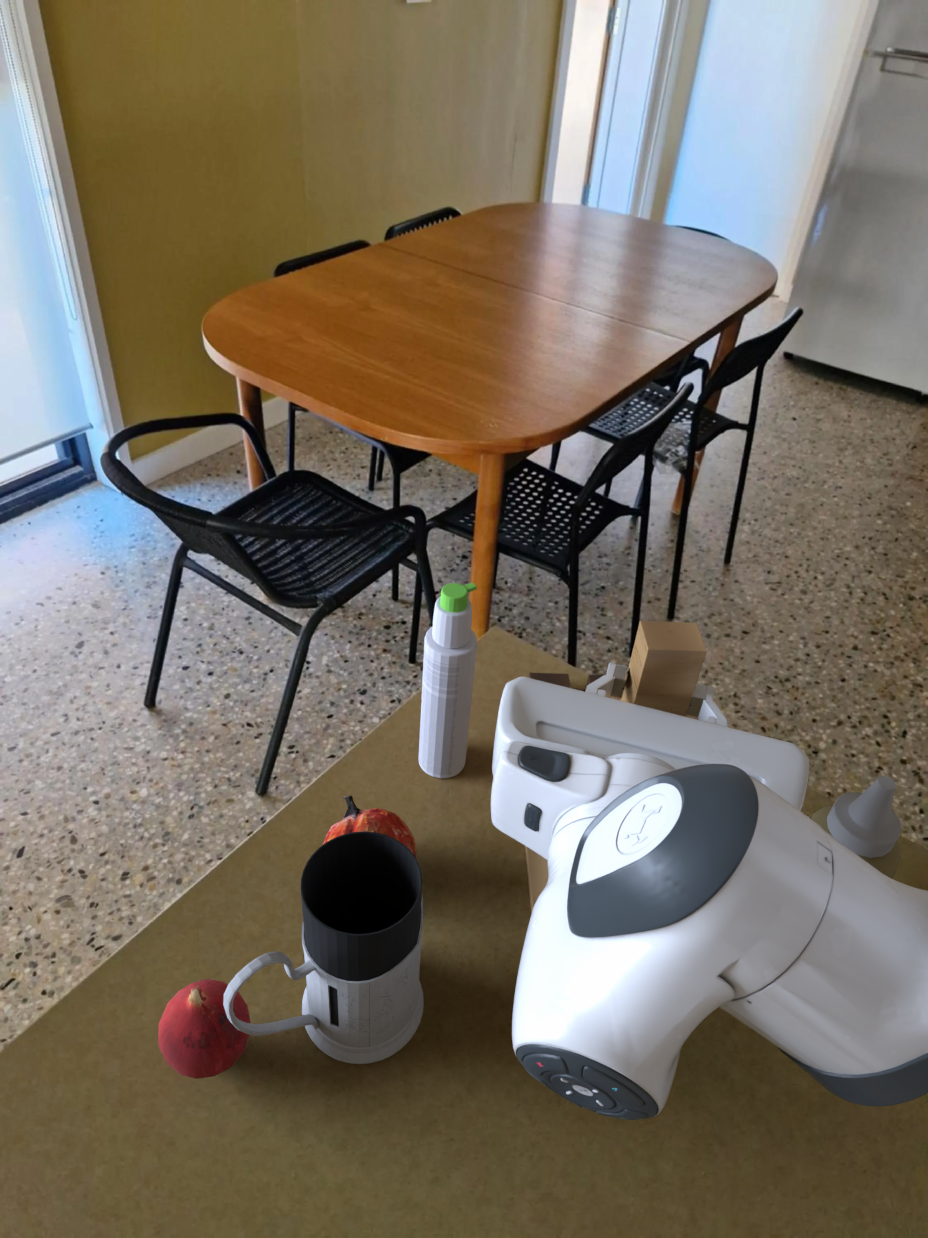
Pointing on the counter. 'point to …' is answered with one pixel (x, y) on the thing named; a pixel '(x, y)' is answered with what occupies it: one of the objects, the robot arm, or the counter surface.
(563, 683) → the chip
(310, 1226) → the counter surface
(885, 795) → the squeeze bottle
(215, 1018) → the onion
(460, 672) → the bottle
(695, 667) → the brush
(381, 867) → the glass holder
